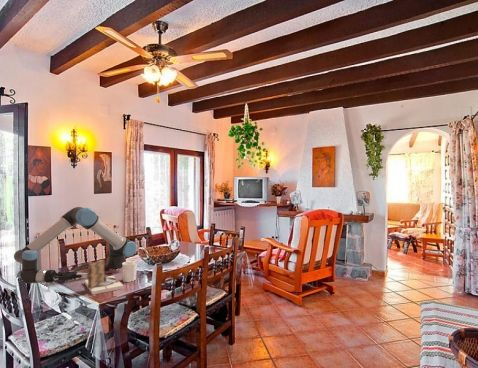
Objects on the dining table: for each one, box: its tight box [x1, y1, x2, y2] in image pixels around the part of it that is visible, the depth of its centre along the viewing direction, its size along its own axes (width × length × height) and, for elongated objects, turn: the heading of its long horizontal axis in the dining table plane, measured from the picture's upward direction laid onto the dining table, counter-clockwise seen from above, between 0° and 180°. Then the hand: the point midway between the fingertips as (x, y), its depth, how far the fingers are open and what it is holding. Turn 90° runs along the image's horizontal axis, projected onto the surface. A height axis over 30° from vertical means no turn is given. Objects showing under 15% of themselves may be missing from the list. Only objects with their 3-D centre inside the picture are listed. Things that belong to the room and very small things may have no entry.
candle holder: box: [121, 260, 138, 283], centre depth 199 cm, size 10×10×12 cm
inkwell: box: [66, 262, 93, 281], centre depth 203 cm, size 9×18×10 cm, turn 125°
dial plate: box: [84, 275, 124, 295], centre depth 187 cm, size 18×24×2 cm
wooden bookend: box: [87, 259, 116, 289], centre depth 184 cm, size 20×14×15 cm
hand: (87, 275), depth 178 cm, fingers closed
